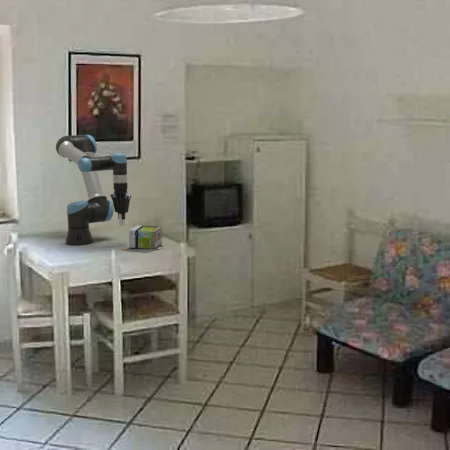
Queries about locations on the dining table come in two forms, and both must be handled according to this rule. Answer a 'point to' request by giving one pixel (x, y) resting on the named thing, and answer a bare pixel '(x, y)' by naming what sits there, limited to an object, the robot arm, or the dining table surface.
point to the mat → (141, 250)
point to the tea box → (145, 237)
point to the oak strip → (126, 249)
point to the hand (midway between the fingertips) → (121, 225)
